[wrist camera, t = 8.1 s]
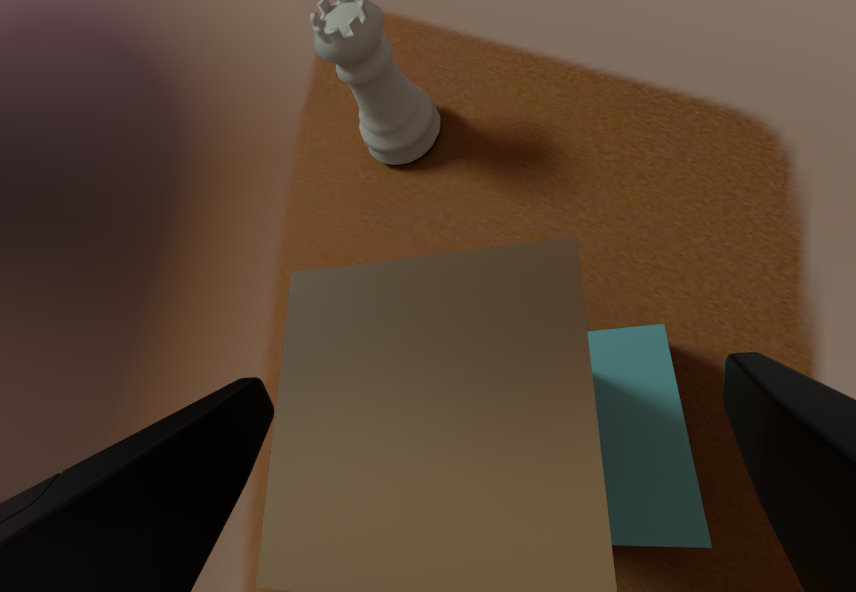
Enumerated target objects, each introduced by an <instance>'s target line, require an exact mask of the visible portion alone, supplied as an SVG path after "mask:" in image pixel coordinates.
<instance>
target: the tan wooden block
mask: <svg viewBox="0 0 856 592" xmlns="http://www.w3.org/2000/svg"><path fill="white" fill-rule="evenodd" d="M256 588H264V589H273V590H281V591H290V592H617V586H616V578H615V569H614V560H613V551H612V542H611V534H610V525H609V516H608V507H607V499H606V490H605V481H604V472H603V464H602V455H601V446H600V437H599V428H598V420H597V411H596V402H595V393H594V385H593V376H592V367H591V358H590V350H589V341H588V332H587V323H586V314H585V306H584V297H583V288H582V279H581V271H580V262H579V253H578V244H577V237H572V238H564V239H556V240H548V241H540V242H532V243H524V244H516V245H508V246H500V247H492V248H484V249H476V250H468V251H460V252H452V253H444V254H436V255H428V256H420V257H412V258H404V259H396V260H388V261H380V262H372V263H364V264H356V265H348V266H340V267H332V268H324V269H316V270H308V271H300V272H292V273H291V281H290V290H289V298H288V307H287V316H286V325H285V334H284V342H283V351H282V360H281V369H280V378H279V386H278V395H277V404H276V413H275V422H274V430H273V439H272V448H271V457H270V466H269V474H268V483H267V492H266V501H265V510H264V519H263V527H262V536H261V545H260V554H259V563H258V571H257V580H256Z"/></svg>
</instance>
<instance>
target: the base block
mask: <svg viewBox="0 0 856 592" xmlns="http://www.w3.org/2000/svg"><path fill="white" fill-rule="evenodd" d="M588 341H589V350H590V358H591V367H592V376H593V385H594V393H595V402H596V411H597V420H598V428H599V437H600V446H601V455H602V464H603V472H604V481H605V490H606V499H607V507H608V516H609V525H610V534H611V542H612V545H621V546H658V547H696V548H712V545H711V540H710V535H709V531H708V526H707V521H706V517H705V512H704V508H703V503H702V498H701V494H700V489H699V484H698V480H697V475H696V470H695V466H694V461H693V457H692V452H691V447H690V443H689V438H688V433H687V429H686V424H685V420H684V415H683V410H682V406H681V401H680V396H679V392H678V387H677V383H676V378H675V373H674V369H673V364H672V359H671V355H670V350H669V346H668V341H667V336H666V332H665V327H664V324H659V325H649V326H639V327H629V328H619V329H609V330H599V331H589V332H588Z"/></svg>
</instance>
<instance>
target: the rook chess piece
mask: <svg viewBox="0 0 856 592" xmlns="http://www.w3.org/2000/svg"><path fill="white" fill-rule="evenodd" d="M317 5H318V7H319V9H320V11H321V12H322V15H321V17H319V15H318V14H317V13H312V14H311V18H310V23H311V25H312V27H313V28H314V29H312V30H313V32H314V33H315V41H314V46H315V49H316V52H317V54H318V55H319V56H320V57H321V58H323V59H324V60H326V61H329V62H333V63H336V64H337V65H336V72H337V75H338V77H339V78H340V79H341V80H342V81H344V82H345V83H348V85H349V87H350V88H351V90H352V91H353V94H354V96H355V98H356V101H357V103H358V105H359V108H360V111H359V118H360V126H359V128H360V132H361V135H362V138H363V140H364V143H365V144H366V145H367V146H368V149H369V152H370V154H371V155H372V156H373V157H375V158H376V159H377V160H378V161H379V162H383V163H387V164H391V165H399V164H406V163H411V162H413V161H414V160H416V159H418V158H420V157H422V156H423V155H424V154H425V153H426V152H427V151H428V150H429V149H430V148H431V147H432V145H433V143H434V141H435V139H436V137H437V135H438V133H439V131H440V118H441V117H440V115H439V113H438V111H437V109H436V106H434V104H433V102H432V100H431V98H430V96H429V94H428V93H427V92H426V91H424V90H423V89H421V88H420V87H418V86H417V85H415V84H414V83H412V82H411V81H409V80H407V79H406V78H405V77H404V75H403V74H402V72H401V71H400V69H399V68H398V66H397V65H396V63H395V62H394V61H393V58H392V56H391V53H392V46H391V44H390V42H389V40H388V39H387V38H385V37H384V36H382V35H381V31H382V25H383V14H382V12H381V9H380V7H379V6H377V5H375V4H374V3H372V2H370V1H368V0H339V1H337V2H336V3H334V4H332V5H331V4H330V2H329V1H328V0H320V1H319V2H318V3H317Z"/></svg>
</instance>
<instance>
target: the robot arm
mask: <svg viewBox="0 0 856 592" xmlns="http://www.w3.org/2000/svg"><path fill="white" fill-rule="evenodd" d="M723 402H724V406H725V410H726V413H727V415H728V418H729V421H730V424H731V426H732V429H733V432H734V435H735V437H736V440H737V443H738V446H739V448H740V451H741V454H742V457H743V459H744V462H745V465H746V468H747V470H748V473H749V476H750V479H751V481H752V484H753V487H754V489H755V492H756V494H757V496H758V499H759V501H760V503H761V505H762V507H763V509H764V511H765V513H766V515H767V517H768V519H769V521H770V523H771V525H772V527H773V529H774V531H775V533H776V535H777V537H778V539H779V541H780V543H781V545H782V547H783V549H784V551H785V553H786V555H787V557H788V559H789V561H790V563H791V565H792V567H793V569H794V571H795V573H796V575H797V577H798V579H799V581H800V583H801V585H802V587H803V588H804V590H805V592H856V400H855V399H853V398H851V397H849V396H847V395H844V394H843V393H841V392H839V391H837V390H835V389H832V388H830V387H828V386H826V385H824V384H822V383H820V382H818V381H816V380H814V379H812V378H810V377H808V376H806V375H804V374H802V373H800V372H797V371H795V370H793V369H791V368H789V367H787V366H785V365H783V364H781V363H779V362H777V361H775V360H773V359H771V358H769V357H767V356H765V355H762V354H760V353H757V352H749V353H732V354H729V355H728V356H727V358H726V361H725V372H724V385H723ZM273 417H274V406H273V404H272V401H271V399H270V397H269V395H268V393H267V390H266V388H265V386H264V384H263V382H262V381H261V380H260V379H259V378H256V377H252V378H241V379H238V380H236V381H234V382H232V383H230V384H228V385H227V386H225V387H223V388H221V389H220V390H217V391H215V392H213V393H211V394H209V395H207V396H206V397H204V398H202V399H200V400H198V401H196V402H194V403H192V404H190V405H188V406H186V407H184V408H183V409H181V410H179V411H177V412H175V413H173V414H171V415H169V416H167V417H165V418H164V419H161V420H160V421H158V422H156V423H154V424H152V425H150V426H148V427H147V428H144V429H142V430H140V431H139V432H137V433H135V434H133V435H131V436H129V437H127V438H125V439H123V440H121V441H119V442H118V443H116V444H114V445H112V446H110V447H108V448H106V449H104V450H102V451H100V452H98V453H96V454H94V455H92V456H91V457H89V458H87V459H85V460H83V461H81V462H79V463H77V464H75V465H73V466H71V467H70V468H68V469H66V470H64V471H63V472H62V473H58V474H56V475H54V476H52V477H50V478H48V479H46V480H44V481H43V482H41V483H39V484H37V485H35V486H33V487H31V488H29V489H27V490H25V491H23V492H21V493H19V494H17V495H15V496H13V497H11V498H9V499H8V500H5V501H4V502H2V503H0V592H191V590H192V588H193V586H194V584H195V582H196V580H197V578H198V577H199V574H200V572H201V571H202V569H203V567H204V565H205V563H206V561H207V559H208V557H209V555H210V553H211V551H212V549H213V547H214V545H215V543H216V542H217V540H218V538H219V536H220V534H221V532H222V530H223V528H224V526H225V524H226V522H227V520H228V518H229V516H230V514H231V512H232V510H233V508H234V506H235V505H236V503H237V501H238V499H239V497H240V495H241V493H242V491H243V489H244V487H245V485H246V483H247V481H248V478H249V476H250V474H251V471H252V469H253V467H254V464H255V462H256V459H257V457H258V454H259V452H260V449H261V447H262V444H263V442H264V440H265V437H266V435H267V432H268V430H269V427H270V425H271V422H272V420H273Z"/></svg>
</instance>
